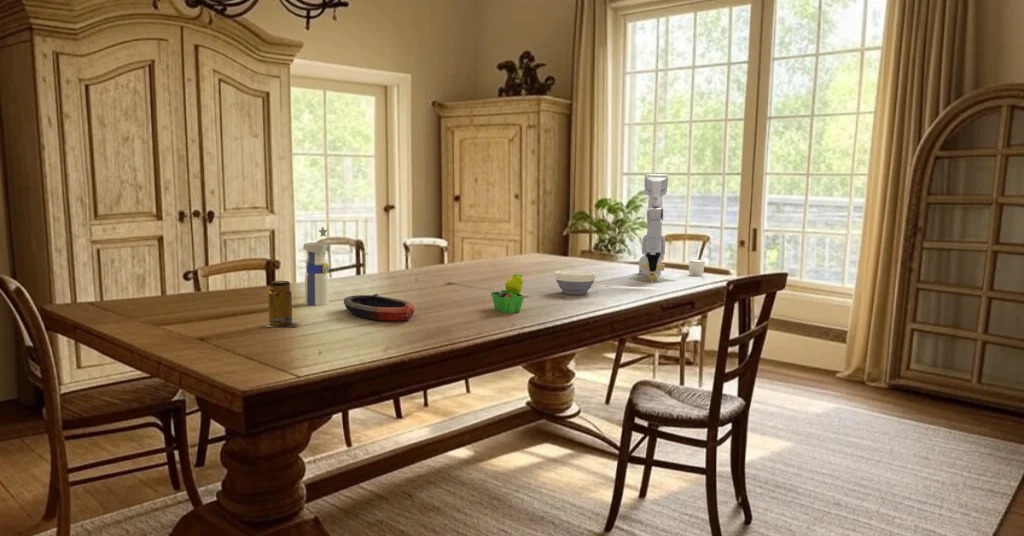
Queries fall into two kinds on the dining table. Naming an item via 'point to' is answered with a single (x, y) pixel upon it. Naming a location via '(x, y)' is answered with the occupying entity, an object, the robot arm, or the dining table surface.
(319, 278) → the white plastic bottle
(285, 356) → the dining table surface
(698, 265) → the beige cylinder
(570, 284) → the bowl
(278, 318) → the condiment
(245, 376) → the dining table surface
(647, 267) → the t key
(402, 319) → the dish
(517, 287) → the fruit basket
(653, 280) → the cover plate
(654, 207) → the robot arm
